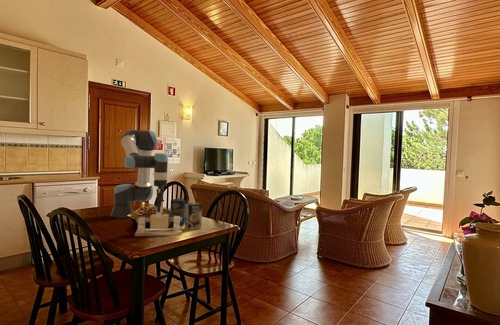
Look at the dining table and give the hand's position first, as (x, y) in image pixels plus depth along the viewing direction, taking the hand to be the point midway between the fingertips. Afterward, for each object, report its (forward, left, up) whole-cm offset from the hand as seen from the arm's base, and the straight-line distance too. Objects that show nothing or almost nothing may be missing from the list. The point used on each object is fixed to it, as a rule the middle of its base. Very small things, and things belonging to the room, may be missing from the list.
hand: (159, 214), depth 176 cm
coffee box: (-9, +20, -11) cm, 25 cm away
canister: (-20, +10, -11) cm, 25 cm away
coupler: (0, 0, -7) cm, 7 cm away
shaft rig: (0, 0, -11) cm, 11 cm away
